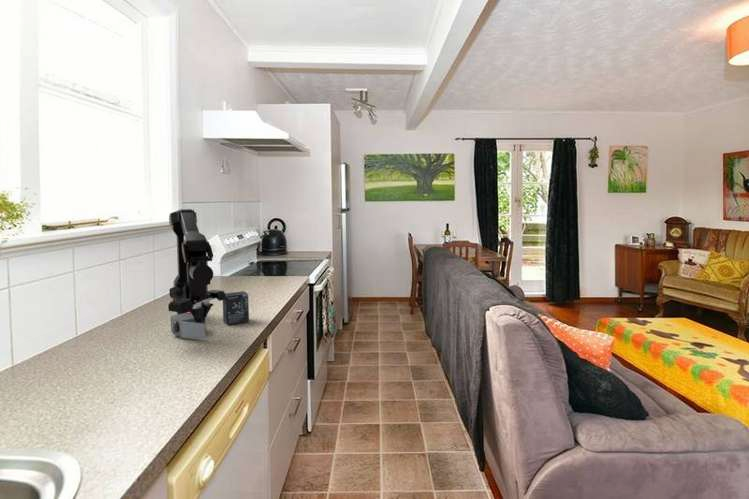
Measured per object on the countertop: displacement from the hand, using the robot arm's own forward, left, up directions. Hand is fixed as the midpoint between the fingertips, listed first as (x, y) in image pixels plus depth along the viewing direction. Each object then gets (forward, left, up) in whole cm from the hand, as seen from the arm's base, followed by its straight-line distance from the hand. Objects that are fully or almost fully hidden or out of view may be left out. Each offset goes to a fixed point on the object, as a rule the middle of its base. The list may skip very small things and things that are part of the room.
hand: (199, 327), depth 136 cm
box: (-10, +17, -4) cm, 20 cm away
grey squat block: (-9, 0, -4) cm, 10 cm away
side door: (0, -2, -3) cm, 4 cm away
